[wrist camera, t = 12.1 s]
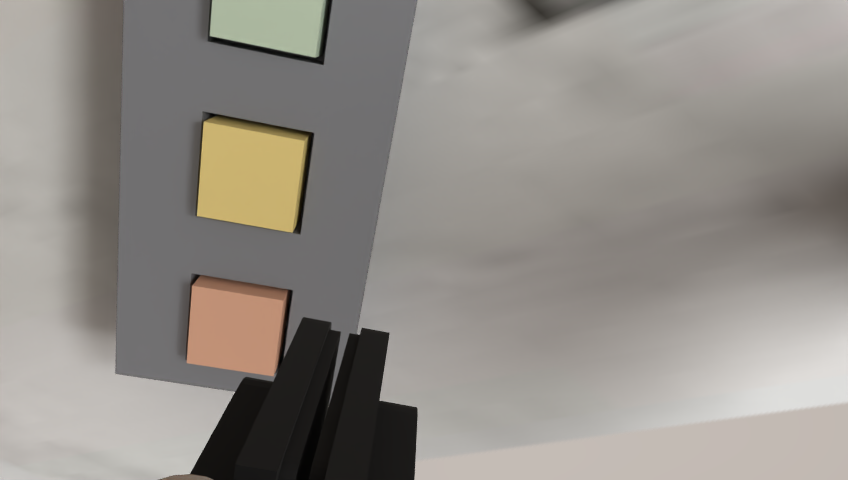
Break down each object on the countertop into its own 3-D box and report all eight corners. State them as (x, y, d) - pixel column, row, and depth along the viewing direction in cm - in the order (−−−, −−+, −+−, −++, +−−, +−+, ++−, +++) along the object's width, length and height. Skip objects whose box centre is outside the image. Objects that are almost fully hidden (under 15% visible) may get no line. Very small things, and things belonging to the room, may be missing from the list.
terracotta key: (291, 282, 30) (283, 300, 28) (282, 353, 32) (273, 376, 30) (206, 267, 30) (192, 285, 28) (200, 341, 31) (186, 363, 29)
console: (428, -67, 27) (432, -81, 23) (349, 367, 35) (342, 407, 31) (167, -127, 26) (126, -153, 22) (147, 335, 34) (115, 373, 30)
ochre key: (312, 132, 28) (304, 141, 26) (300, 218, 29) (292, 232, 27) (219, 114, 27) (203, 121, 25) (212, 202, 29) (196, 215, 27)
